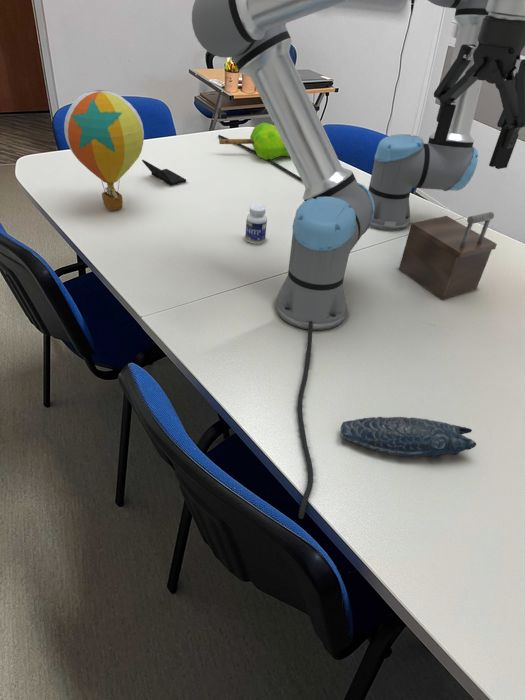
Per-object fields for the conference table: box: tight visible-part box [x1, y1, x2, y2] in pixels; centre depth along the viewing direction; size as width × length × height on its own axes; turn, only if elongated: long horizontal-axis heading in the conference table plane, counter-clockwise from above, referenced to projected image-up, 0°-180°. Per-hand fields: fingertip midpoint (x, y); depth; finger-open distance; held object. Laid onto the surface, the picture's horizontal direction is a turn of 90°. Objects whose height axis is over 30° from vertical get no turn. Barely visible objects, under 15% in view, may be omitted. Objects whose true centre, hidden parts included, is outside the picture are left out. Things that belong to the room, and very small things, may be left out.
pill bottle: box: [244, 204, 268, 245], centre depth 134 cm, size 5×5×9 cm
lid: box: [409, 211, 498, 258], centre depth 118 cm, size 16×12×8 cm
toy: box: [63, 89, 145, 212], centre depth 136 cm, size 20×20×30 cm
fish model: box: [340, 416, 477, 458], centre depth 82 cm, size 7×21×5 cm, turn 84°
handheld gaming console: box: [141, 159, 187, 187], centre depth 162 cm, size 12×7×10 cm
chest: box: [398, 227, 493, 300], centre depth 124 cm, size 15×12×11 cm
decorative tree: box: [218, 122, 290, 161], centre depth 186 cm, size 18×10×30 cm
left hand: (466, 153), depth 95 cm, fingers open, 13 cm apart
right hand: (515, 173), depth 103 cm, fingers open, 7 cm apart
